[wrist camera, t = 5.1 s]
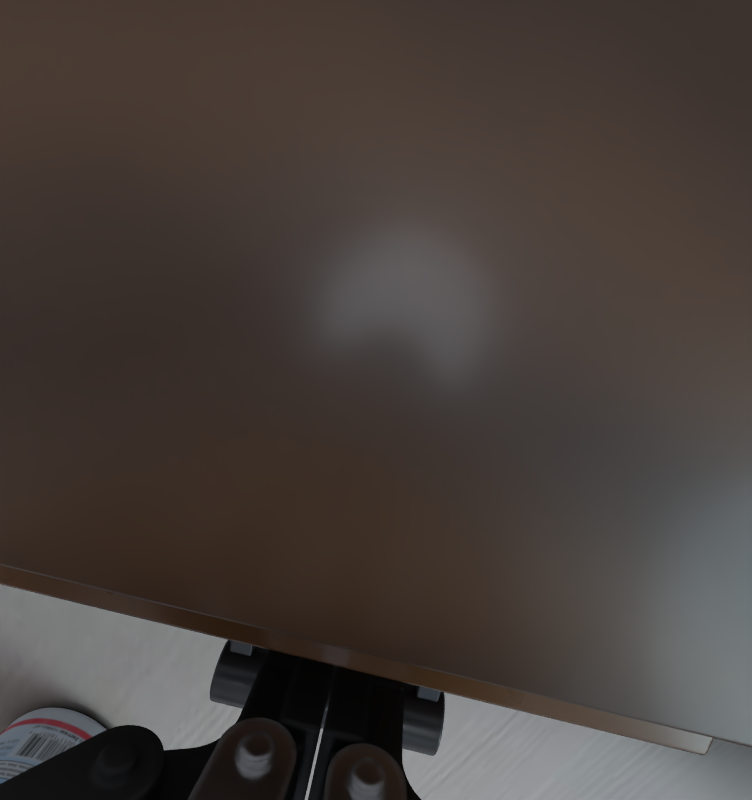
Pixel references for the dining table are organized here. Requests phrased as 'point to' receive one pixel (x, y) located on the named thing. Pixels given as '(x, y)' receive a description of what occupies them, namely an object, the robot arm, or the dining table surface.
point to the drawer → (420, 683)
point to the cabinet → (393, 330)
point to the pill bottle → (42, 738)
